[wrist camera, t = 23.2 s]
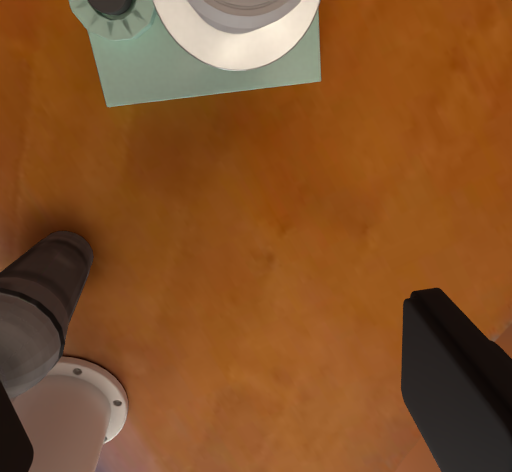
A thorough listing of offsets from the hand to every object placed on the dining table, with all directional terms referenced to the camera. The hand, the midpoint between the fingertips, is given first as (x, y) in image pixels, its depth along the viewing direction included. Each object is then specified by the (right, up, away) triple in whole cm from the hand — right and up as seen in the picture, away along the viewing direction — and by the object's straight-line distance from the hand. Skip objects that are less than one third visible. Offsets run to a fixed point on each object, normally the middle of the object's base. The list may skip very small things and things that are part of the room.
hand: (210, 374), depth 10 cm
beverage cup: (-16, +2, +27) cm, 32 cm away
